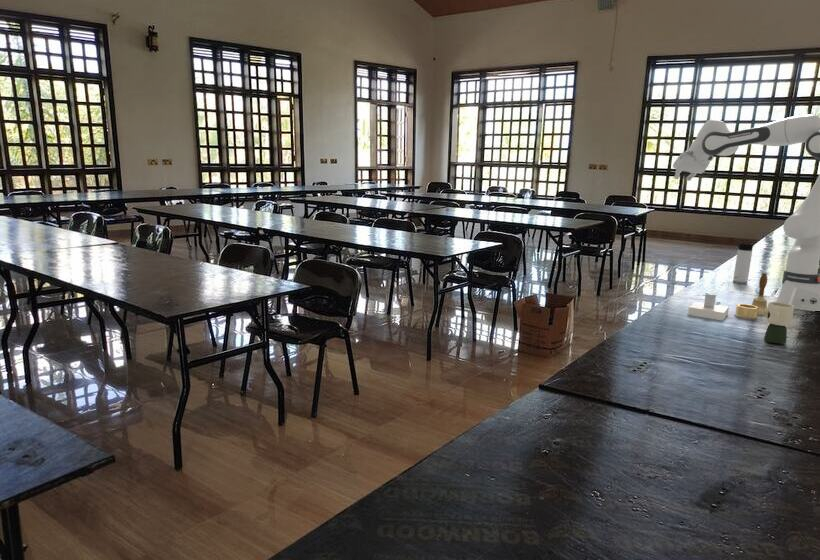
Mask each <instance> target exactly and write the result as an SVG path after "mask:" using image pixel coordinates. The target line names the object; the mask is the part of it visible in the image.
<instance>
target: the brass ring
mask: <svg viewBox="0 0 820 560" xmlns="http://www.w3.org/2000/svg"><path fill="white" fill-rule="evenodd" d="M757 312H758V307H757V306H753V305H752V304H748V303H747V304H746V303H737V305H736V309H735V316H736V317H738V316H739V318H743V319H751V320H754V319H757V317H758V314H757Z"/></svg>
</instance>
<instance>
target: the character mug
mask: <svg viewBox="0 0 820 560" xmlns="http://www.w3.org/2000/svg"><path fill="white" fill-rule="evenodd" d="M794 311H795V309H794V306H793V305H790V304H786V303H780V302H775V301H770V302H767V314H766V315H765V322H766V323H769V324H768V325H767V328H766V331H765V334H764V337H763V340H764V341H765V342H768V343H772V344H773V345H775V344H783V345H784V344H787V339H788V338H787V337H788V336H787V331H788V329H787V327H789V326H791V325H792V321H793V315H794Z"/></svg>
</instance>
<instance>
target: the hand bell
mask: <svg viewBox="0 0 820 560" xmlns="http://www.w3.org/2000/svg"><path fill="white" fill-rule="evenodd" d="M767 284H768V275H767V273H766V272H762V274H761V276H760V278H759V282H758V285H759V290H758V291H759V292H758V296H757V297H755V298H753V300H752V303H751V305H753V306H757V307H758V312H757V316H758V315H759V316H766V314H767V309H768V302H767V299H766V298H765V297H764V295H765V294H764V293H765V288H766V286H767Z"/></svg>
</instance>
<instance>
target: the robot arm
mask: <svg viewBox="0 0 820 560" xmlns="http://www.w3.org/2000/svg"><path fill="white" fill-rule="evenodd" d="M801 143H802V144H803V143H805V150H806V152H807V154H809V155H810V156H811V157H812V158H814V159H815V160H817V161H818V162H820V116H818V115H816V114H804V115H803V114H802V115H801V114H800V115H795V116H790V117H789V116H788V117H786V118H782V119H778V120H775V121H771V122H768V123H765V124H763V125H760V126H756V127H751V128H747V129H742V130H738V131H737V130H736V131H732V132H731V131H730V130H729V128H728V126H727V123H726V122H725V121H722V120H718V119H715V118H711V119H708V120H706V121H705V123H704V124H703V125H702V126H701V128H700V130H699V131H698V133H697V135H696V138H695V139H694V140H693V141H692V143H691V145H690V146H689V148H688V150H684V151H683V152H682V153H680V155H678V157H677V158H676V159H675V161H674V162H673V163H672V168H674V169H675V173H674V176H673V179H675V180H679V179H680V177H681V175H680V174H681V173H682V172H687V173H690V174H688V176H686V178H685V180H686V181H688V182H689V181H690V182H691V181H692V179H693V178H694V177H695V176H696V175H697V174H701V175H702V174H703V173H705V172H706V170H707V168H708V167H709V166H710V163H711V161H713V159H714V156H720V157H728V156H731V155H734V154H735V153H736V152H737V151H738V149H739V147H741V146H747V145H761V146H767V147H784V146H790V145H797V144H801ZM782 228H783V231H784V233H785V235H786V236H787V237H789V238H792V239H794V240H795V242H794V244H793V246H792V247H791V249H789V251H788V253H787V259H786V265H785V269H784V271H783V274H782V280H781V284H782V285H781V288H780V291H779V294H778V296H777V297H776V299H775V301H774V302H780V303H786V304H790V305H793V306H794V310H798V309H799V310H800V311H808V312H815V311H820V274H818V269H819V266H820V265H819V264H820V174H818V177H817V178H816V180H815V183H814V184H813V185H812V188H811V190H810V191H809V193H808V194H807V196H806V198H805V199H804V200H803V201H802V202H801V204H800V205H799V206H798V207H797V209H796V210H795V211H794V212H793V213H792V214H791V215H790V216H789V217H788V218H786V219H785V221H784V222H783V227H782Z"/></svg>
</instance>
